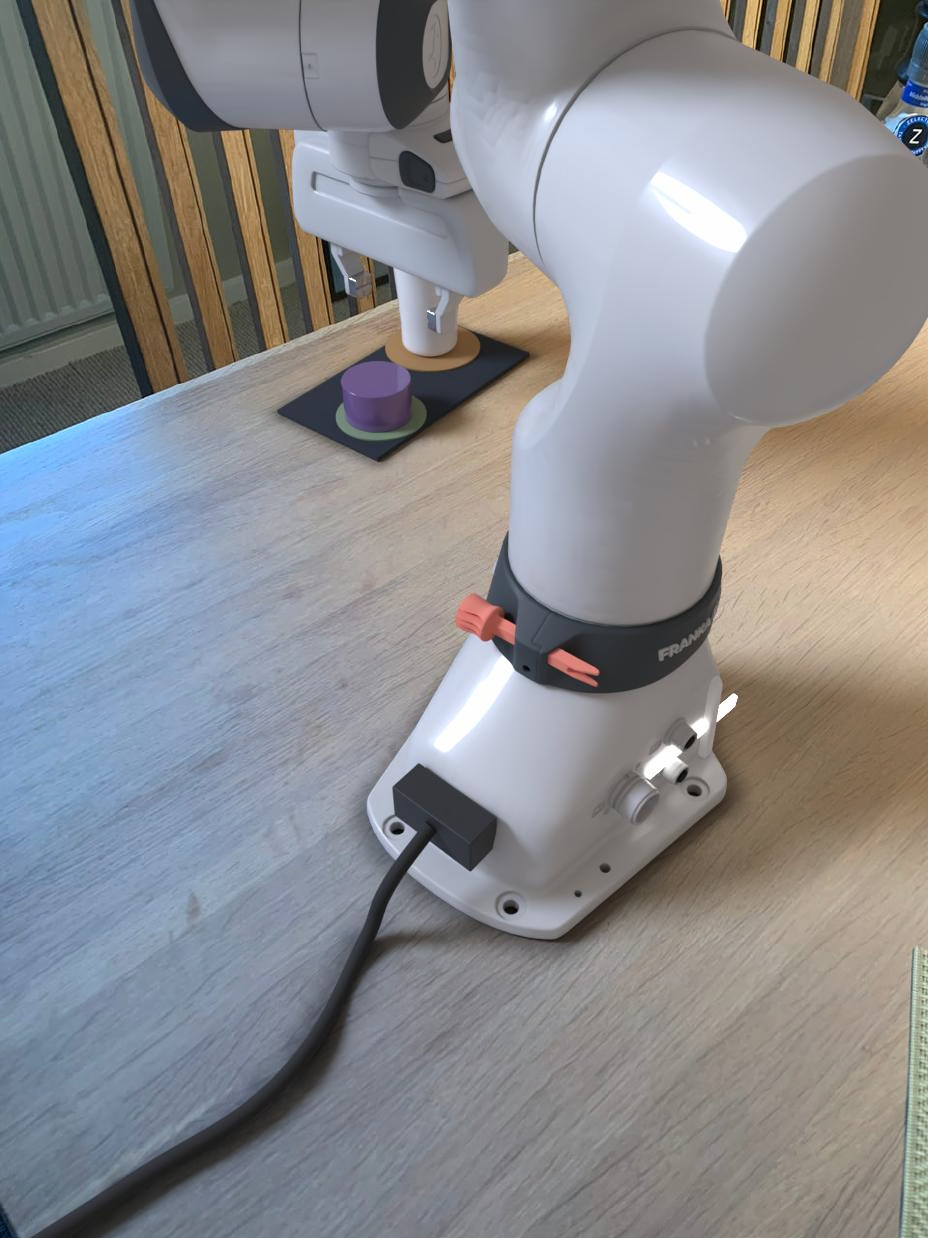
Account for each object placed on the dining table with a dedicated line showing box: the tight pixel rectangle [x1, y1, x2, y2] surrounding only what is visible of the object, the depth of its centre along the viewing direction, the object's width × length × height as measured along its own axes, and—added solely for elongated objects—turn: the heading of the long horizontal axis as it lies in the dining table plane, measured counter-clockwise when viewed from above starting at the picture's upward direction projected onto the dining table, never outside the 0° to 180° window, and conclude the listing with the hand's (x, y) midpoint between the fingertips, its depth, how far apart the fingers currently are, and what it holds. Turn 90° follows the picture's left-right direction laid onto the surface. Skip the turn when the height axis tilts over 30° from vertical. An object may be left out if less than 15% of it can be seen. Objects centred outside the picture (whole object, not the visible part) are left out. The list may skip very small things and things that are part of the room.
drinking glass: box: [392, 267, 460, 357], centre depth 91 cm, size 7×7×15 cm
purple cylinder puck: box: [341, 361, 413, 433], centre depth 86 cm, size 6×6×4 cm
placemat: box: [276, 324, 531, 462], centre depth 92 cm, size 22×13×1 cm, turn 142°
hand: (399, 311), depth 82 cm, fingers open, 8 cm apart
